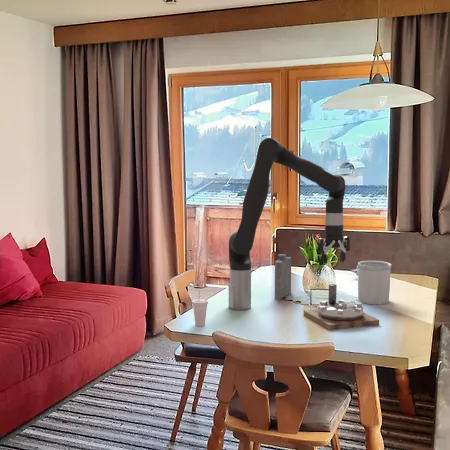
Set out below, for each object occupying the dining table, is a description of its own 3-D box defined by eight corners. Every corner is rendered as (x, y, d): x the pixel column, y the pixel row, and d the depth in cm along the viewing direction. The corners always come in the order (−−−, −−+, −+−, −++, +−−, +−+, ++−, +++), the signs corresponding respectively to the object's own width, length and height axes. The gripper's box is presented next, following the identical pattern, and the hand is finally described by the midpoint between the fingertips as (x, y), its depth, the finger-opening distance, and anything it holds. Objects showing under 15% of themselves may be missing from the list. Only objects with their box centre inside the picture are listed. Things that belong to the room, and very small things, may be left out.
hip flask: (280, 300, 267) (280, 257, 265) (271, 299, 269) (272, 256, 266) (291, 292, 281) (292, 252, 279) (283, 291, 283) (284, 251, 281)
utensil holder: (388, 306, 256) (389, 267, 254) (354, 303, 261) (355, 265, 259) (391, 298, 269) (393, 261, 267) (359, 295, 275) (360, 259, 273)
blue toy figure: (346, 276, 319) (347, 261, 318) (366, 275, 321) (367, 260, 320) (355, 281, 307) (355, 265, 306) (376, 280, 309) (376, 264, 308)
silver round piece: (330, 322, 223) (331, 295, 221) (310, 310, 240) (310, 285, 238) (372, 318, 228) (373, 291, 227) (349, 306, 245) (349, 282, 244)
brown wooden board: (329, 330, 221) (329, 324, 220) (303, 315, 241) (303, 310, 241) (379, 324, 227) (379, 319, 227) (350, 310, 248) (350, 305, 248)
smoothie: (199, 321, 232) (199, 287, 230) (211, 324, 228) (211, 289, 226) (188, 325, 227) (188, 290, 225) (200, 328, 223) (200, 292, 221)
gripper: (343, 221, 244) (342, 259, 246) (314, 223, 239) (313, 262, 241) (353, 223, 237) (353, 262, 239) (324, 225, 232) (323, 265, 234)
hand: (333, 262), depth 240 cm, fingers open, 8 cm apart
